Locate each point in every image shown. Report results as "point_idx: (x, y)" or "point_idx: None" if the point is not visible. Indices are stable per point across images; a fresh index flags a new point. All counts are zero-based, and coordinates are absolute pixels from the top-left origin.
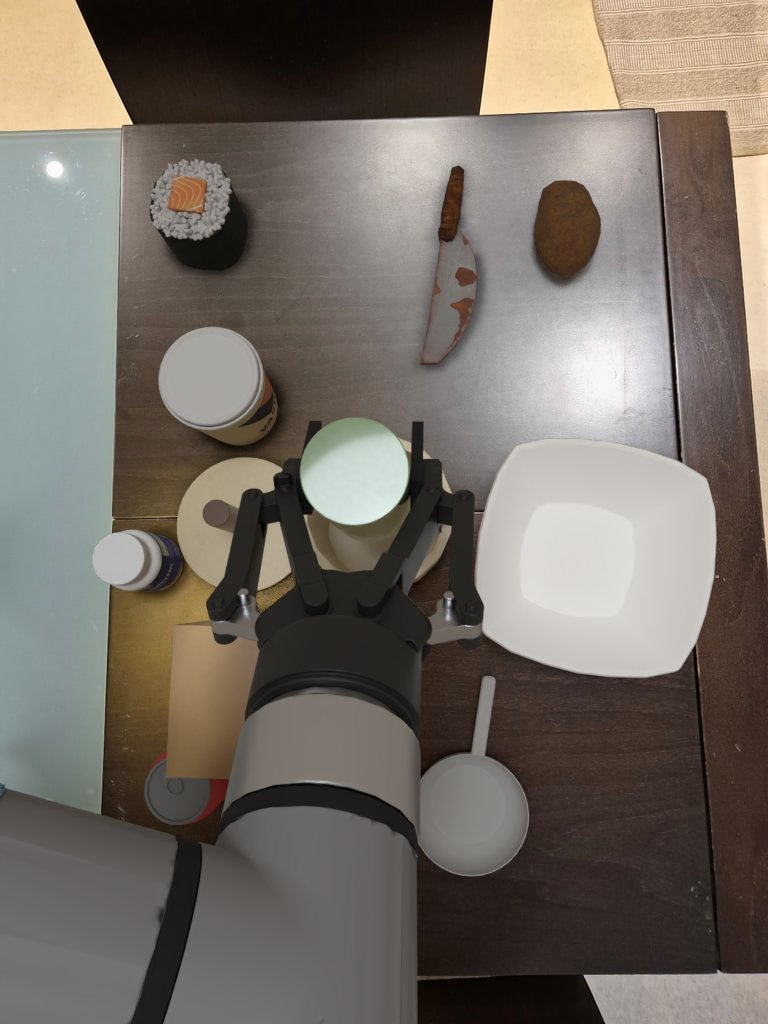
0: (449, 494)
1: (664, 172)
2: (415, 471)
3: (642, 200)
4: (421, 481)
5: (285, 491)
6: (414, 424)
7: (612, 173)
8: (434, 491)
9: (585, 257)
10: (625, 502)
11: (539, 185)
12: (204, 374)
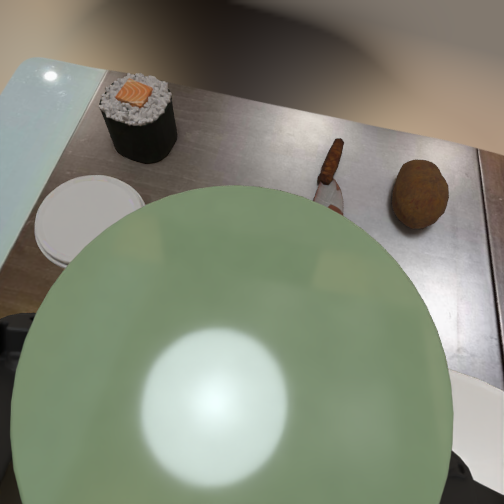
0: (477, 486)
1: (484, 180)
2: None
3: (469, 193)
4: None
5: (14, 372)
6: None
7: (447, 172)
8: (453, 475)
9: (437, 215)
10: (469, 443)
11: (395, 166)
12: (86, 215)
